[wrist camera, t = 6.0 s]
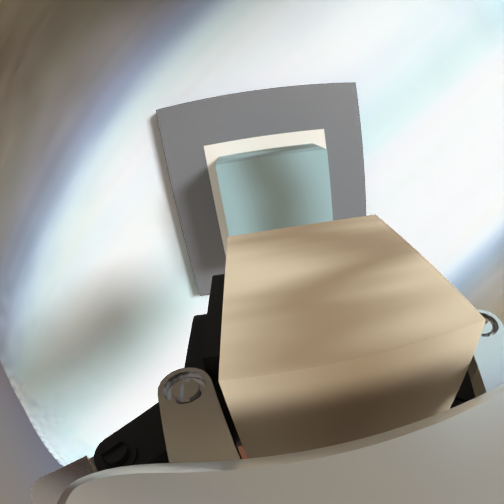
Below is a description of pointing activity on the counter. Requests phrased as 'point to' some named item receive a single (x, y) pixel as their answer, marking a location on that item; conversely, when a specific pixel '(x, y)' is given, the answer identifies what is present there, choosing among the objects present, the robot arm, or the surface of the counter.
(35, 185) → the counter surface
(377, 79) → the counter surface
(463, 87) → the counter surface
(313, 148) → the teal base block
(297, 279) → the maple block
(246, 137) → the build board
